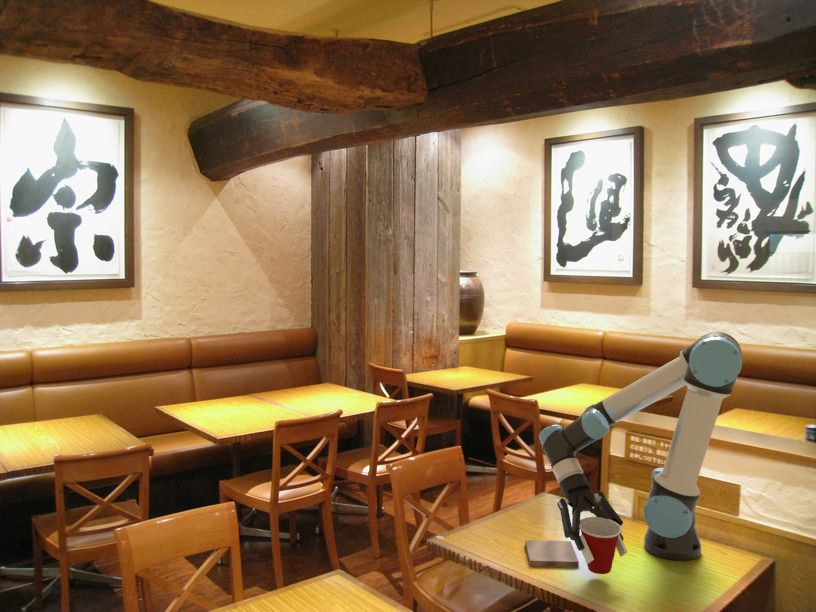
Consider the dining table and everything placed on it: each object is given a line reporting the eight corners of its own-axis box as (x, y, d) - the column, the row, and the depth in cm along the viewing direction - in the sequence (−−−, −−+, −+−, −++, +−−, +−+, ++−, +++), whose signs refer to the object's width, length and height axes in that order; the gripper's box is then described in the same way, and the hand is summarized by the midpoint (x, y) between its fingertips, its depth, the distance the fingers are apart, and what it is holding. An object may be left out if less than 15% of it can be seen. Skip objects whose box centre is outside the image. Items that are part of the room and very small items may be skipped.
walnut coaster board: (570, 546, 195) (570, 541, 195) (578, 567, 182) (578, 561, 182) (525, 545, 196) (525, 540, 196) (530, 566, 183) (530, 560, 183)
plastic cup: (596, 583, 168) (596, 536, 167) (569, 565, 178) (569, 521, 177) (630, 574, 172) (631, 528, 171) (602, 556, 182) (602, 513, 181)
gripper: (599, 479, 192) (636, 555, 178) (531, 490, 184) (564, 571, 170) (611, 466, 187) (650, 544, 173) (541, 477, 179) (576, 560, 165)
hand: (607, 558), depth 172 cm, fingers closed on plastic cup, 10 cm apart
